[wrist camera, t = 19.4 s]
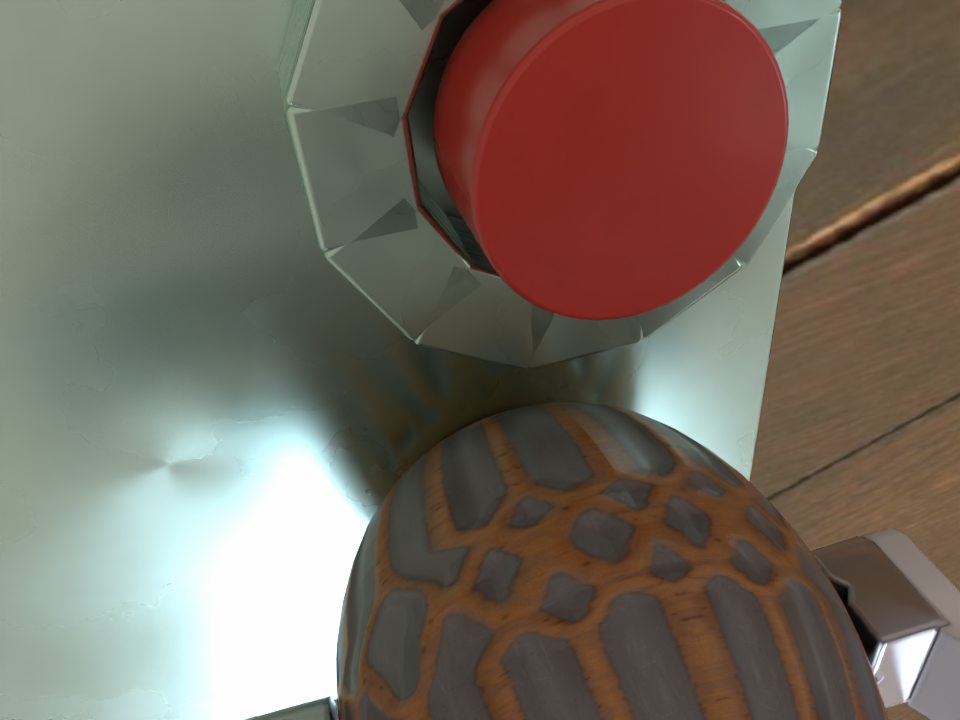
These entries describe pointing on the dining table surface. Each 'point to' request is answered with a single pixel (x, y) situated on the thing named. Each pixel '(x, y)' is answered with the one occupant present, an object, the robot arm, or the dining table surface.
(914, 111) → the dining table surface
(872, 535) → the robot arm
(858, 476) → the dining table surface
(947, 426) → the dining table surface
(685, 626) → the vase
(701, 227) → the button
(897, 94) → the dining table surface
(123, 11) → the green metallic slab
